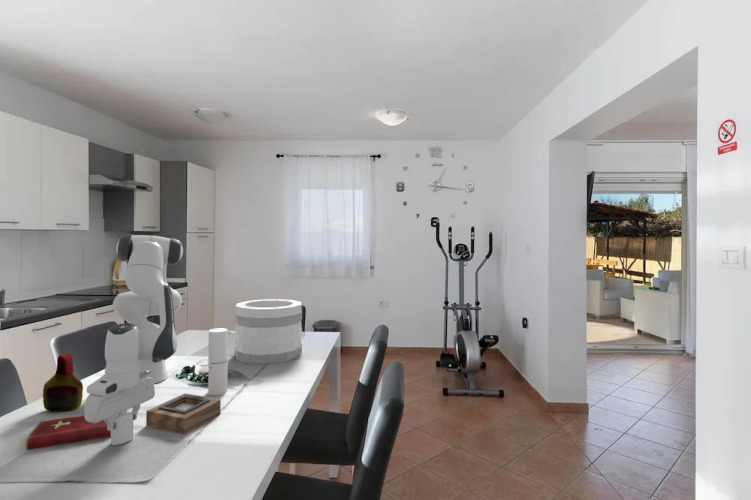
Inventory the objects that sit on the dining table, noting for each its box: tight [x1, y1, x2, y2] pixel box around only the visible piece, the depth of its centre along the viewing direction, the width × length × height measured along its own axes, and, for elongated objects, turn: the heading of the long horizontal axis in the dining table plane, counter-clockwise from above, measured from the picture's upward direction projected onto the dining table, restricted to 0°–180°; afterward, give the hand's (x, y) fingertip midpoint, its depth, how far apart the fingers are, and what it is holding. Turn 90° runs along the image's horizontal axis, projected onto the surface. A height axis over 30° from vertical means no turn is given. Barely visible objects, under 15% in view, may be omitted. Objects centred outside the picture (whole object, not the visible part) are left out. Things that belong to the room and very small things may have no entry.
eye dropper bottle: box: [110, 409, 134, 446], centre depth 118 cm, size 4×6×12 cm
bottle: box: [42, 352, 84, 412], centre depth 140 cm, size 12×6×20 cm, turn 97°
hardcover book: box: [25, 414, 117, 451], centre depth 123 cm, size 12×21×4 cm, turn 115°
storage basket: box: [234, 298, 303, 365], centre depth 212 cm, size 35×35×27 cm
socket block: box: [145, 392, 222, 435], centre depth 134 cm, size 16×16×6 cm
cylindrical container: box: [207, 327, 229, 396], centre depth 158 cm, size 7×7×25 cm
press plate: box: [173, 402, 197, 411], centre depth 134 cm, size 8×8×1 cm
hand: (122, 424), depth 118 cm, fingers closed on eye dropper bottle, 5 cm apart
